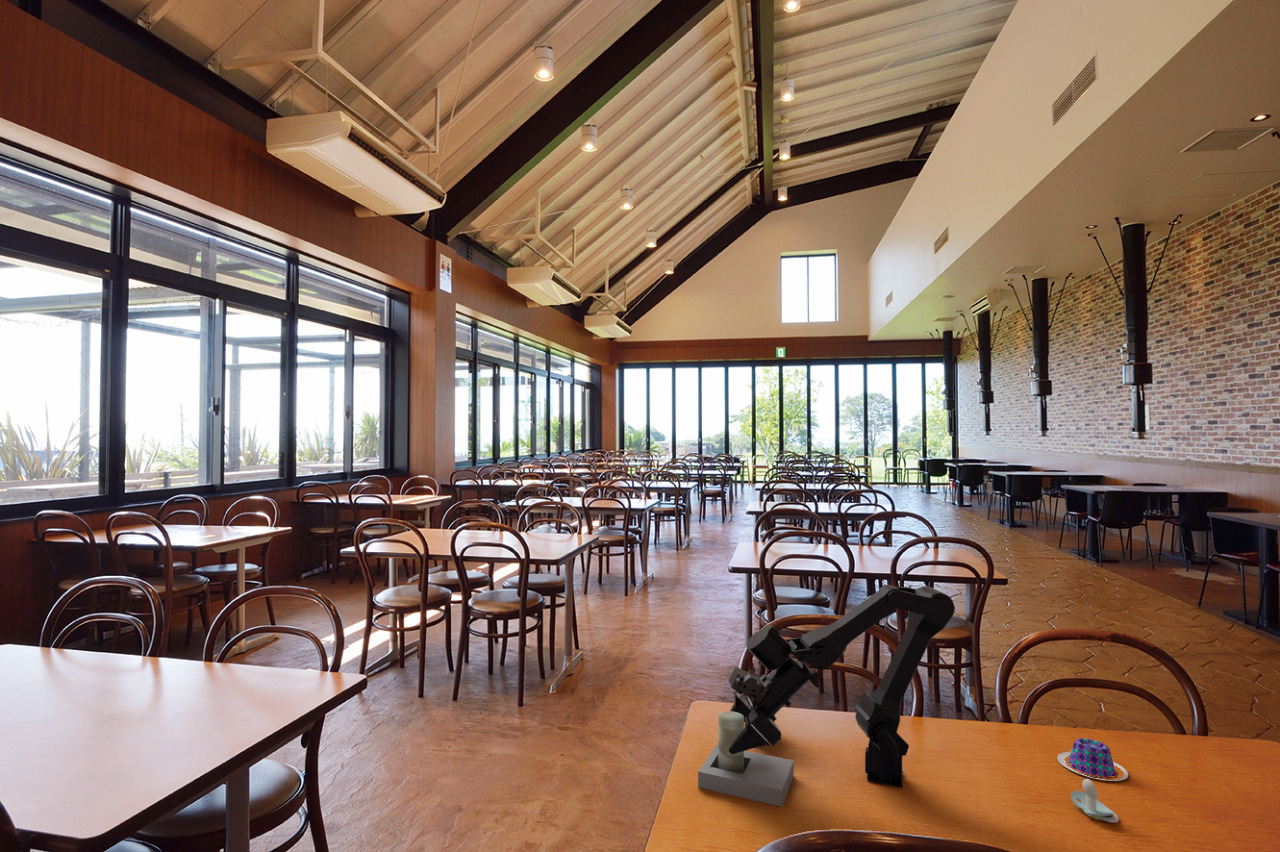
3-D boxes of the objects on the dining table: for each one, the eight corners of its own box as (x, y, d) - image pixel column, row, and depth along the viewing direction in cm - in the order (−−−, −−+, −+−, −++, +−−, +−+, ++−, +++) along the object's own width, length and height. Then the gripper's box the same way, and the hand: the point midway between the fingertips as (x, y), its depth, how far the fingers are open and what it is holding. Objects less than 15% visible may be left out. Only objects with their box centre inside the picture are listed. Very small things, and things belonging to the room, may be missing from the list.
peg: (746, 774, 129) (746, 713, 129) (739, 787, 124) (740, 723, 125) (721, 769, 131) (722, 709, 131) (714, 781, 126) (715, 719, 127)
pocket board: (793, 775, 129) (793, 760, 129) (782, 806, 118) (782, 790, 118) (715, 759, 135) (715, 744, 135) (698, 787, 124) (698, 771, 124)
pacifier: (1097, 804, 120) (1066, 803, 120) (1098, 770, 121) (1067, 769, 120) (1128, 827, 113) (1095, 826, 113) (1129, 791, 113) (1096, 790, 113)
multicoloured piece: (1122, 764, 136) (1122, 738, 136) (1133, 790, 125) (1133, 763, 125) (1055, 750, 142) (1055, 726, 142) (1060, 774, 131) (1060, 748, 131)
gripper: (744, 641, 138) (692, 693, 137) (764, 672, 119) (703, 733, 118) (780, 678, 138) (728, 731, 137) (806, 716, 119) (746, 776, 118)
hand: (725, 741), depth 128 cm, fingers open, 9 cm apart
